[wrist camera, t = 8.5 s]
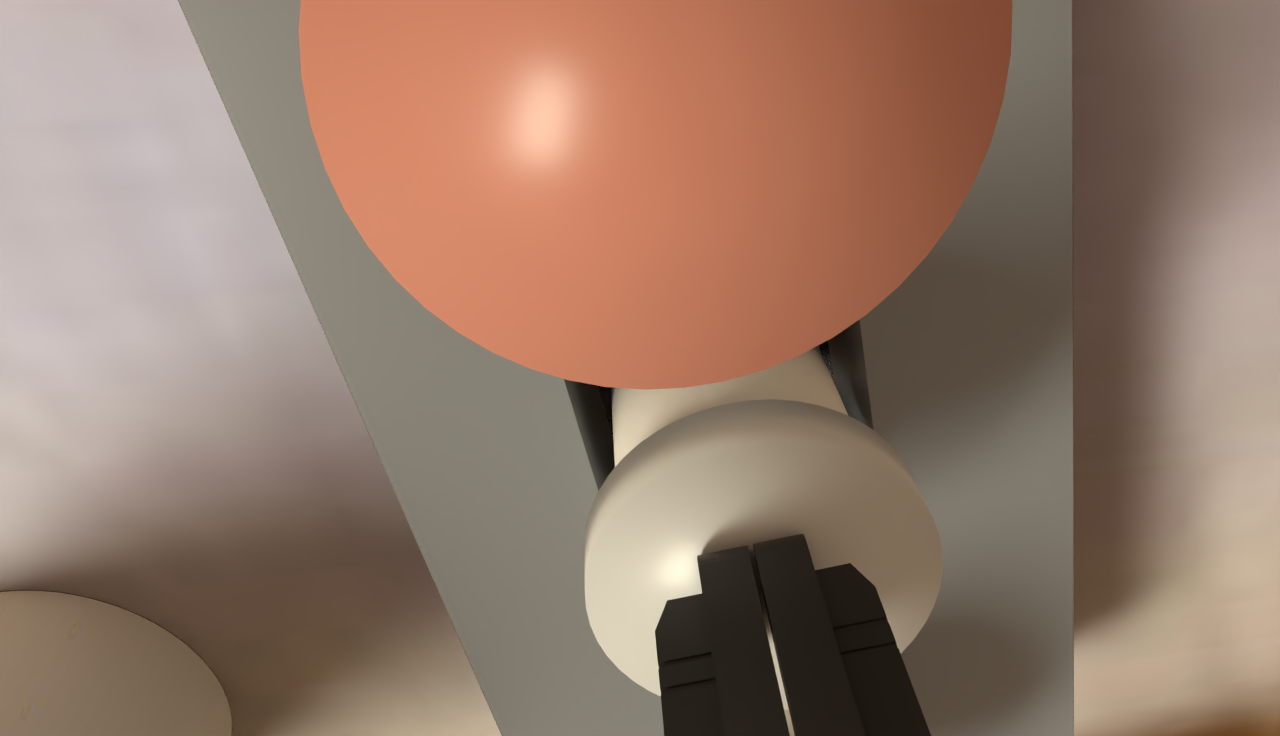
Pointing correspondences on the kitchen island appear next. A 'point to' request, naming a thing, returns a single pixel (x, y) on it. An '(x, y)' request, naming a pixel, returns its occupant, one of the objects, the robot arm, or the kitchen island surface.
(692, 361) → the red plunger
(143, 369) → the kitchen island surface
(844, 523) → the mid plunger
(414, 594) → the kitchen island surface
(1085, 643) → the kitchen island surface
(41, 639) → the white cylinder
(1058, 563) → the panel
